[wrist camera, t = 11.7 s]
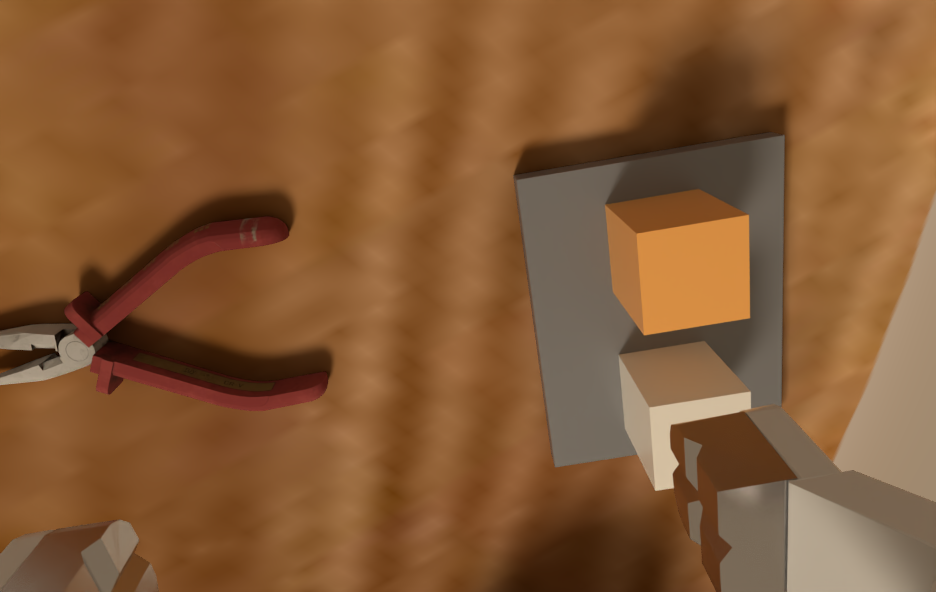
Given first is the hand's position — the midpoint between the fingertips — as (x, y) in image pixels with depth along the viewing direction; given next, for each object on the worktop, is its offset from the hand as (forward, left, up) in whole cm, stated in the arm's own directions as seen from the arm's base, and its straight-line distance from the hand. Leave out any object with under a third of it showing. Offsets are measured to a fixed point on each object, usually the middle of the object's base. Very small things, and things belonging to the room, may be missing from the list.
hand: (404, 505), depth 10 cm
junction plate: (+9, +11, -27) cm, 31 cm away
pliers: (+4, -17, -28) cm, 33 cm away
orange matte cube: (+5, +11, -26) cm, 28 cm away
